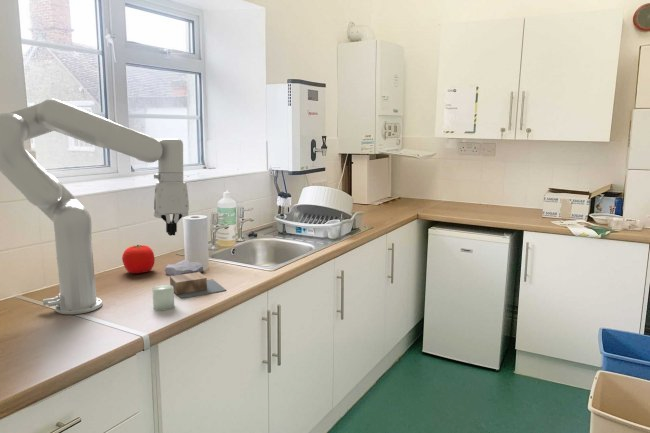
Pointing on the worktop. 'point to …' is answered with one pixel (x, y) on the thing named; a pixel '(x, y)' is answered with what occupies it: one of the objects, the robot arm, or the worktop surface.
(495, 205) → the worktop surface
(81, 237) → the robot arm
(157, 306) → the rounded cube
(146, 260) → the tomato
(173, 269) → the stone block
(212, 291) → the mat
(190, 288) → the brown wooden block
